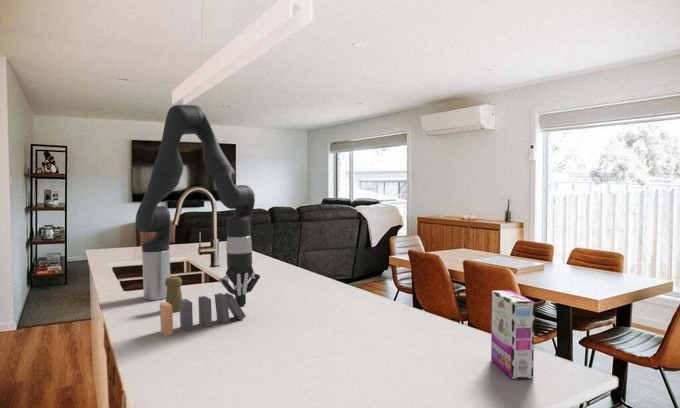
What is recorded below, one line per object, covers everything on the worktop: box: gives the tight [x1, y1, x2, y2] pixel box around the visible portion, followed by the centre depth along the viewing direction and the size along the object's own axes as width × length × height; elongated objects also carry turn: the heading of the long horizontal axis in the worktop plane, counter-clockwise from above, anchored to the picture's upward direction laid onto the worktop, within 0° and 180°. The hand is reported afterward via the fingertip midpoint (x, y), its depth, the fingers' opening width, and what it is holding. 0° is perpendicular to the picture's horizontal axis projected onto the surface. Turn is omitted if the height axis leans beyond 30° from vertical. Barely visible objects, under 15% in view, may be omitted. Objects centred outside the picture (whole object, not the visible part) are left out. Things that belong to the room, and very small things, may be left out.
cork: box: [165, 275, 184, 314], centre depth 153 cm, size 6×6×11 cm
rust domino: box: [159, 301, 174, 337], centre depth 130 cm, size 5×2×8 cm, turn 36°
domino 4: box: [223, 292, 247, 321], centre depth 141 cm, size 5×2×8 cm
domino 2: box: [197, 295, 213, 329], centre depth 136 cm, size 5×2×8 cm, turn 36°
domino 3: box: [214, 292, 231, 325], centre depth 139 cm, size 5×2×8 cm, turn 36°
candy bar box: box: [490, 289, 536, 380], centre depth 102 cm, size 11×5×16 cm, turn 5°
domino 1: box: [179, 298, 194, 332], centre depth 133 cm, size 5×2×8 cm, turn 36°
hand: (240, 306), depth 143 cm, fingers closed
